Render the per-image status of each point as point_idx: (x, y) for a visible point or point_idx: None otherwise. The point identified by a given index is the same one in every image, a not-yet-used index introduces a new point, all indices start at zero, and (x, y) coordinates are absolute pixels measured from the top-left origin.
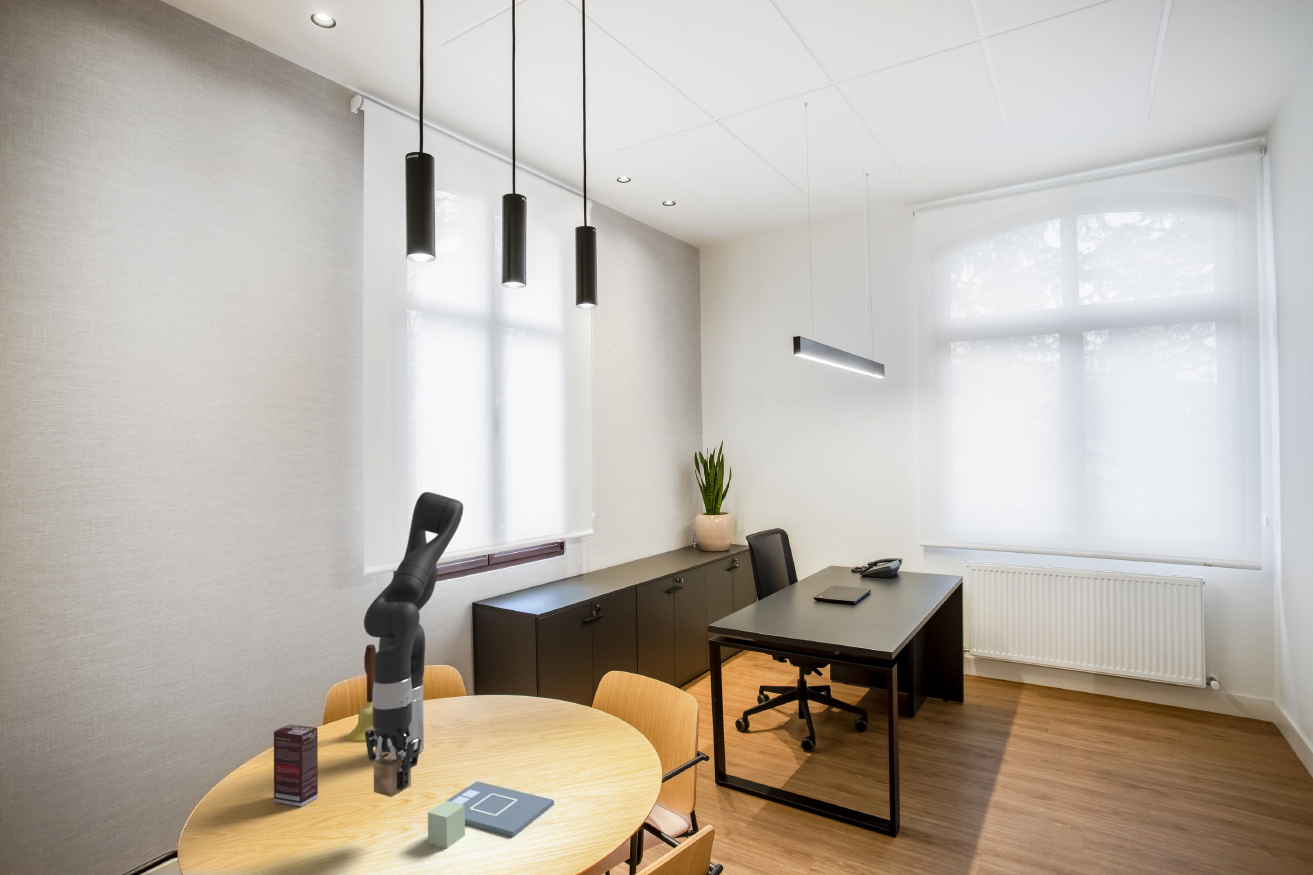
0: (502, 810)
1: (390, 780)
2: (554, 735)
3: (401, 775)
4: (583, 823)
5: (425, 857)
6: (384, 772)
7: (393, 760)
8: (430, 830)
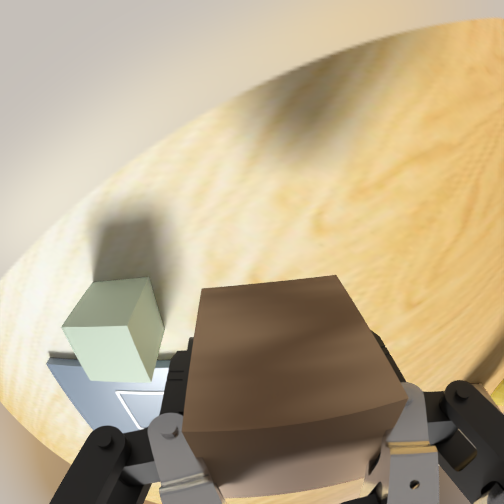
0: (123, 404)
1: (198, 346)
2: (274, 499)
3: (177, 398)
4: (32, 404)
5: (95, 232)
6: (264, 374)
7: (208, 475)
8: (132, 295)
